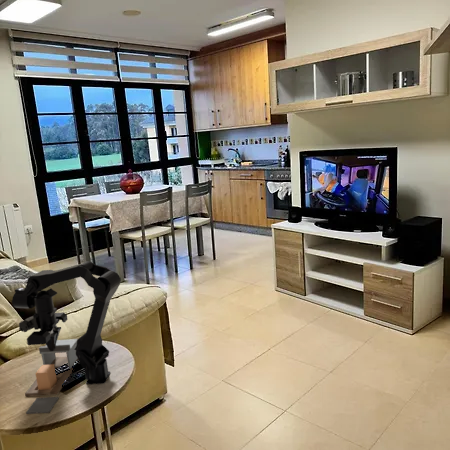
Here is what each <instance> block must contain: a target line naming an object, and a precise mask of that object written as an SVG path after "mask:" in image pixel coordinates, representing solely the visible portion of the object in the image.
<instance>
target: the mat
mask: <svg viewBox="0 0 450 450" xmlns="http://www.w3.org/2000/svg"><path fill="white" fill-rule="evenodd" d="M58 400H59V396H51V397H50V396H49V397H36V399H35V400H33V402H32V404H31V405H30V406H29V408H28V409H27V411H26V412H25V414H26V415H31V414H45V413H46V414H47V413H48V414H49V413H50V412H51V411H52V410H53V408H54V406H55V405H56V403H57V402H58Z"/></svg>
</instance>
